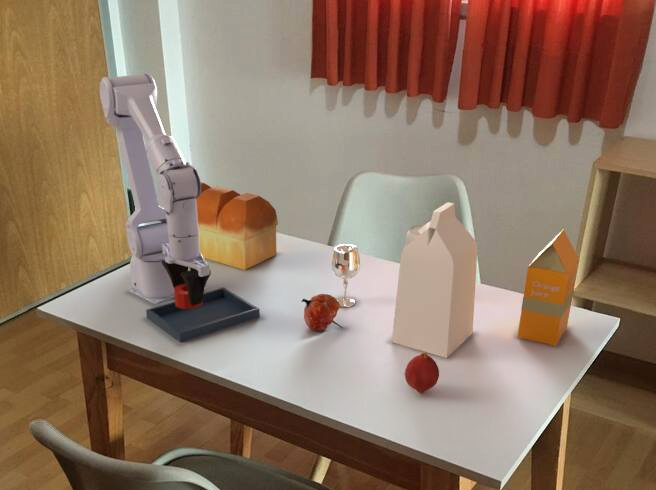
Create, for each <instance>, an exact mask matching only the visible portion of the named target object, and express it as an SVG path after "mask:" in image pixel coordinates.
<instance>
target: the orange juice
mask: <svg viewBox="0 0 656 490" xmlns="http://www.w3.org/2000/svg"><path fill="white" fill-rule="evenodd" d="M579 263H580V259H579V257H578V255H577V252H576V251H575V249H574V247H573V245H572V243H571V240H570V238H569V236H568V234H567V233H566V231H565V229H564V228H563V229H562V230H561V231H560V232H559V233H558V234H557V235H556V236H555V237H553V239H552V240H551V241H550V242H548V244H547V245H546V246H545V247H544V248H543V249H542V250H541V251H539V253H537V255H536V256H535V257H534V258H533V260H532V261H531V263H530V264H529V265H528V266H527V271H526V278H525V284H524V290H523V297H522V303H521V311H520V318H519V322H518V323H519V324H518V330H517V338H519V339H522V340H523V339H524V340H528V341H532V342H537V343H541V344H546V345H550V346H553V347H554V346H555V347H557V344H558V343H559V341H560V340H561V338H562V336H563V335H564V333H565V332H566V330H567V328H568V323H569V318H570V312H571V306H572V301H573V297H574V292H575V285H576V279H577V274H578V268H579Z"/></svg>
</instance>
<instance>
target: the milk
mask: <svg viewBox="0 0 656 490" xmlns="http://www.w3.org/2000/svg"><path fill="white" fill-rule="evenodd" d="M455 206H456V205H455V203H454V202H448V201H447V202H445V203H444V204H442V205H441V206H439V207H438V208H436V209H435V210H433V212H432V215H431V219H430V221H428V222H427V223H425V224H423V225H424V226H423V227H422V228H420V229H419V230H418V232H419V233H420V235H419V236H418V237H417V238H415V239H414V240H413V241H411V242H410V243H409V244H408V245H407V246H406V245H405V246H404V248H403V249H402V251H401V255H400V261H399V272H398V279H397V280H398V281H397V290H396V297H395V298H396V299H395V309H394V317H393V326H392V335H391V343H393V344H397V345H400V346H403V347H407V348H410V349H414V350H418V351H421V352H426V353H427V354H432V355H435V356H438V357H441V358H446V359H447V358H448V357H449V356H450V355H451V354H452V353H453V352H455V351H456V350H457V348H459V347H460V346H461V345H462V344H463V343H464V342H466V340H467V339H468V338H469V337H470V336H472V335H473V331H474V315H475V314H474V313H475V297H476V282H477V281H476V279H477V265H478V264H477V261H478V244H477V242H476V239H475V238H474V236H473V235H471V233H470V232H469V231H468V230H467V228H466V227H465V226H464V225H463V224H462V223H461V221H460V220H459V219H458V218H457V217H456V208H455Z"/></svg>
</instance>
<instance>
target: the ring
mask: <svg viewBox="0 0 656 490" xmlns="http://www.w3.org/2000/svg"><path fill="white" fill-rule="evenodd" d="M174 295H175V297H174V301H175V305H176V306H177V307H178V308H181V309H194V308H197V307H200V306H201V305H202V304H203V303H200V304H197V305H191V303H190V300H189V295H188V290H187V286H186V284H185V283H184V284H180V285H177V286H176V287H175V288H174Z"/></svg>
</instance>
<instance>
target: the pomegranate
mask: <svg viewBox="0 0 656 490" xmlns="http://www.w3.org/2000/svg"><path fill="white" fill-rule="evenodd" d="M337 299H338V298H336V297H335V296H333V295H331V294H327V293H319V294H317V295H313V296H312V297H311V298H310V299H306V298H302V300H301V301H300V303H303V302H304V303H305V307H304V310H303V320H304V322H305V324H306V326H308V328H309V329H311V330H312V331H314V332H319V333H320V332H325V331H326V330H327V328H328V326H329V325H331V324H335V326H337V327H339V328H341V329H343V328H344V327H343V326H341V325H340V324H339V323H337V322H336V321H334V319H335V318H336V317H337V314H338V311H339V309H340V308H341V306H340V304H339V302H338V301H337Z"/></svg>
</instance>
